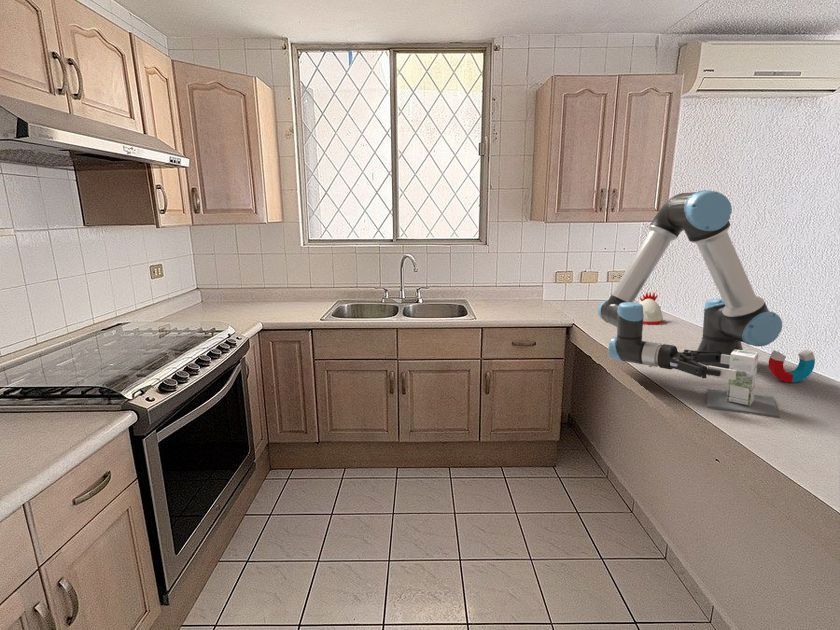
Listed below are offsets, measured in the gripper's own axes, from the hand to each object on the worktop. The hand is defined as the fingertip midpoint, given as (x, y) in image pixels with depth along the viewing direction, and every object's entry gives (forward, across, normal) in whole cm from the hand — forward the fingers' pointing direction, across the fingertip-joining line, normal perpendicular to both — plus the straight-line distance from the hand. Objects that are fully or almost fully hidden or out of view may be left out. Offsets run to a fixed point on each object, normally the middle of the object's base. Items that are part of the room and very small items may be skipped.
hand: (741, 368), depth 128 cm
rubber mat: (0, 0, -10) cm, 10 cm away
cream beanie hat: (-56, -87, -11) cm, 104 cm away
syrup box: (0, 0, -10) cm, 10 cm away
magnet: (+8, -28, -10) cm, 31 cm away
